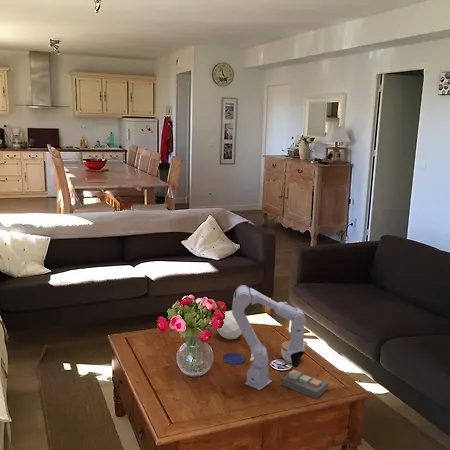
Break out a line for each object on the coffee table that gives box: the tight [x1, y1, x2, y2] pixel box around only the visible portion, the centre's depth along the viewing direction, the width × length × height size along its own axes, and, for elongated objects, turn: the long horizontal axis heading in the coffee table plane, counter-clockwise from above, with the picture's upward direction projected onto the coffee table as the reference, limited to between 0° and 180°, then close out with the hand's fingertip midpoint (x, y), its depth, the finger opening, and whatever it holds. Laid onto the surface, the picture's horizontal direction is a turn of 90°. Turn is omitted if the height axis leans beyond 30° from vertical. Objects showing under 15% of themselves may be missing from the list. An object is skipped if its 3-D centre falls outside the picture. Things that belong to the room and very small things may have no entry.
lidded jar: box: [280, 340, 303, 364], centre depth 242 cm, size 11×11×9 cm
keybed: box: [281, 372, 329, 399], centre depth 219 cm, size 10×17×3 cm, turn 52°
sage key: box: [299, 375, 312, 384], centre depth 218 cm, size 4×4×3 cm
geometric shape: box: [216, 310, 243, 340], centre depth 265 cm, size 14×15×15 cm
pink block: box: [309, 379, 323, 388], centre depth 215 cm, size 4×4×3 cm
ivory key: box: [288, 369, 302, 380], centre depth 221 cm, size 4×4×3 cm
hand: (295, 366), depth 220 cm, fingers closed
